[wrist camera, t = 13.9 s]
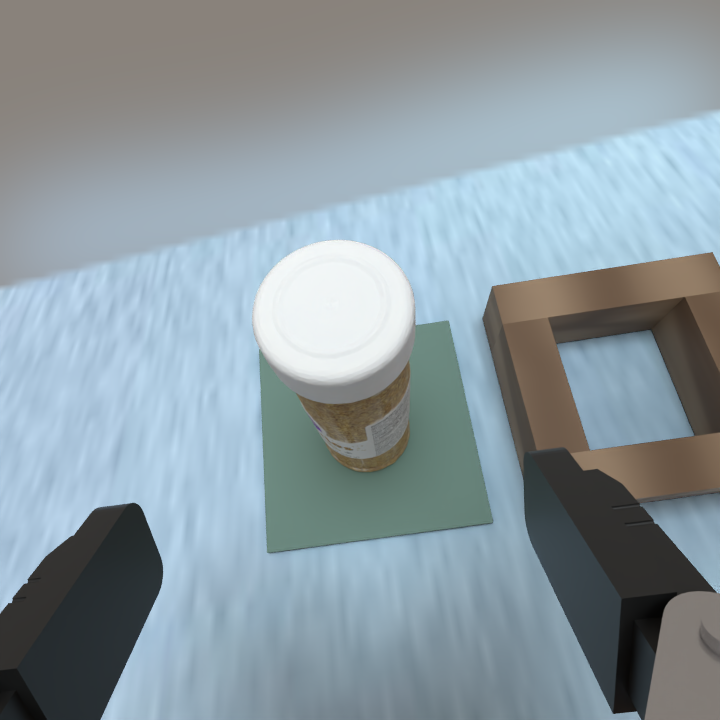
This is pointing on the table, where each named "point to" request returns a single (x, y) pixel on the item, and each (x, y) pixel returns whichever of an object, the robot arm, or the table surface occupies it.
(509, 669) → the table surface
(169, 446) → the table surface
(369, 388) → the sprinkles bottle
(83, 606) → the robot arm
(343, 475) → the rubber mat
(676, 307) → the keeper collar
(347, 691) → the table surface
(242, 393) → the table surface
